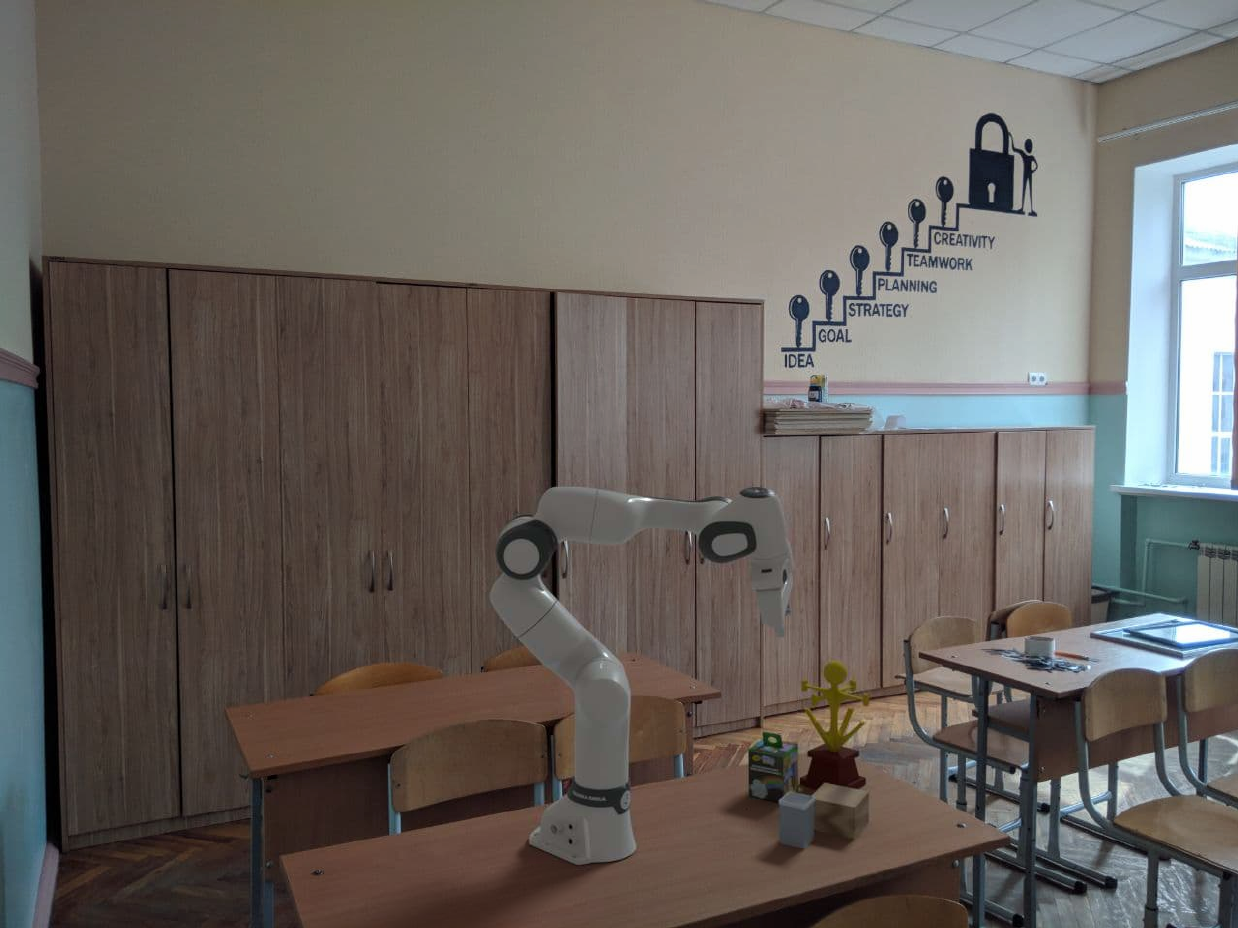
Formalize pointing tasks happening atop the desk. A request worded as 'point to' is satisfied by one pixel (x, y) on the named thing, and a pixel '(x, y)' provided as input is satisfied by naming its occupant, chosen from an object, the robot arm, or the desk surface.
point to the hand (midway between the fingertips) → (784, 624)
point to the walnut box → (840, 810)
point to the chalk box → (772, 768)
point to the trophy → (833, 734)
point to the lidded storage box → (796, 820)
